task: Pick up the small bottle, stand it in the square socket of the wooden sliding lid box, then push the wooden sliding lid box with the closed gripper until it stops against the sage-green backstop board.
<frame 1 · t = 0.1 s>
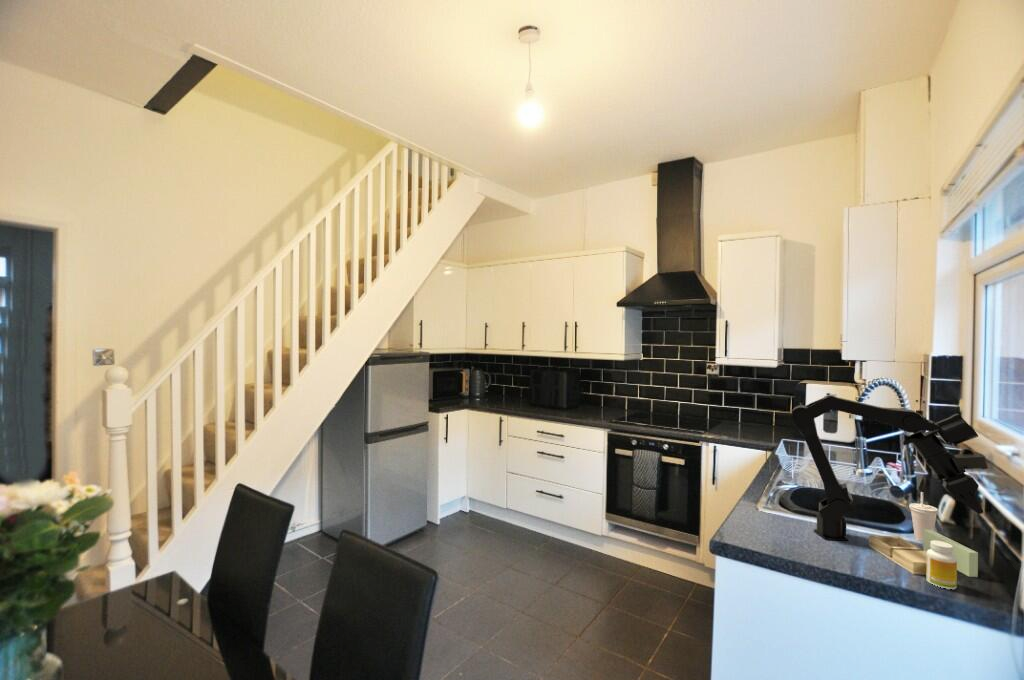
hand: (976, 507, 122), 15 cm above the worktop, tool tilted 30°, fingers open, 9 cm apart
wooden sliding lid box: (905, 554, 124), point 1 cm above the worktop, slide at 0.0 cm
backstop board: (949, 563, 122), on the worktop
smoothie: (923, 540, 137), on the worktop
supplement bottle: (941, 585, 112), on the worktop
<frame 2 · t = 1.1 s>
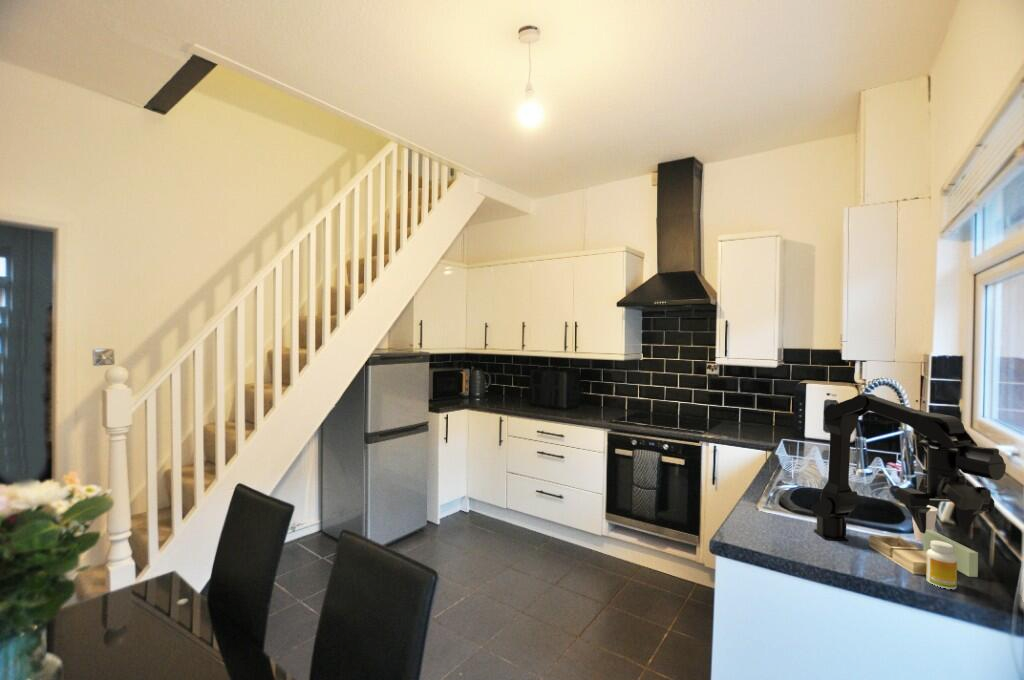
hand: (942, 533, 112), 12 cm above the worktop, tool pointing down, fingers open, 9 cm apart
nothing on the worktop moved.
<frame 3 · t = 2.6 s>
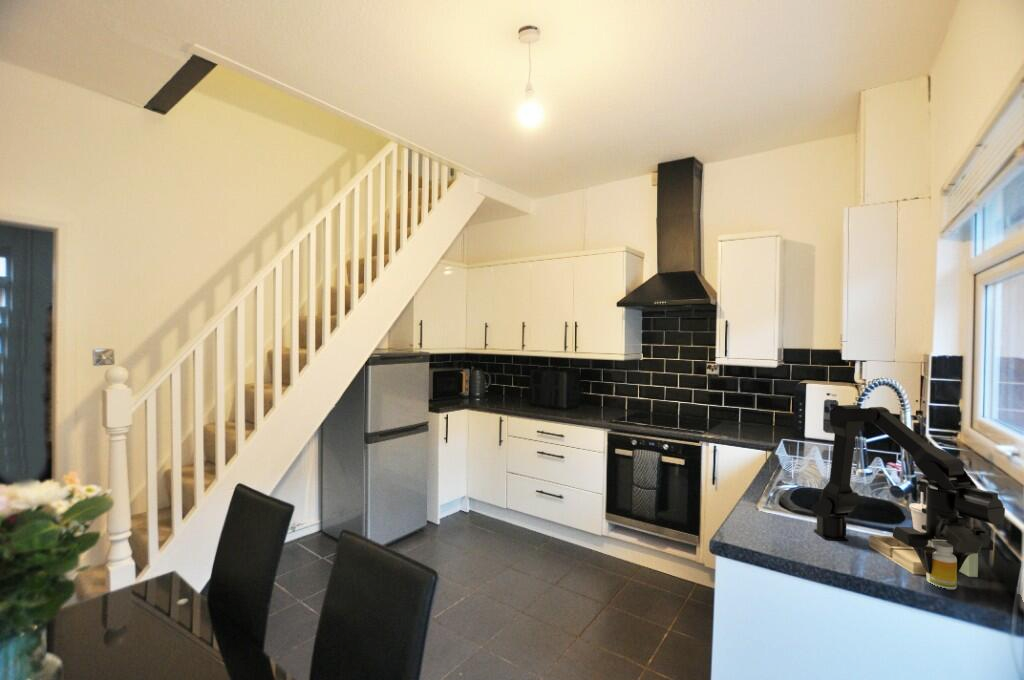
hand: (941, 573, 112), 3 cm above the worktop, tool pointing down, fingers closed on supplement bottle, 5 cm apart
supplement bottle: (941, 585, 112), on the worktop, touching gripper
everything else where it was.
when the fingers open (4 cm above the worktop, at t = 6.5 s): supplement bottle stays where it is, resting on wooden sliding lid box.
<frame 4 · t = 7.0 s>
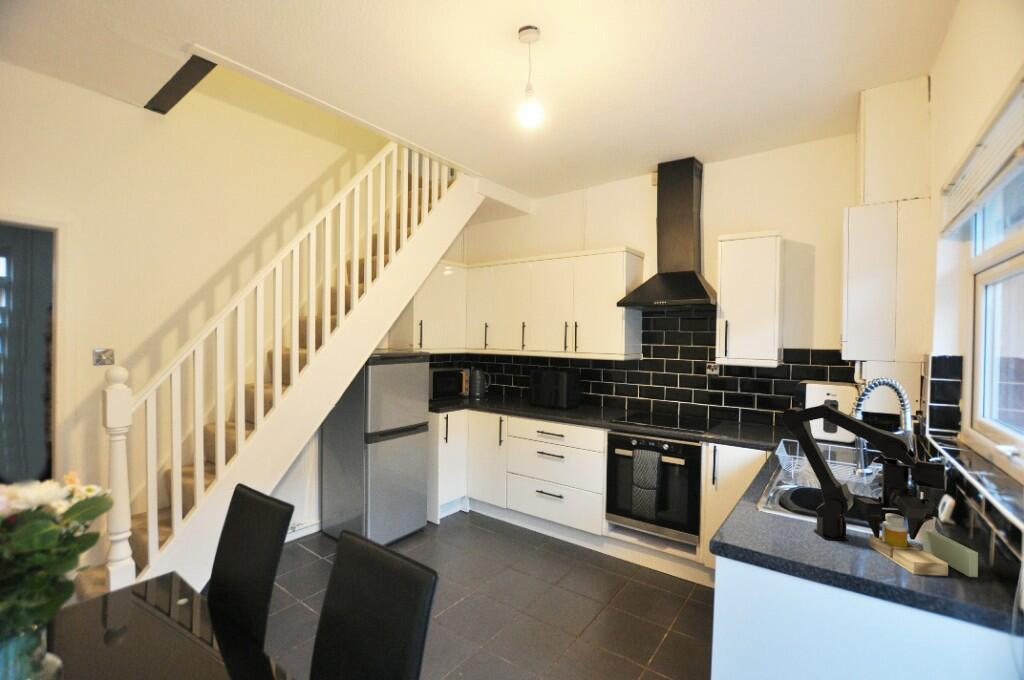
hand: (894, 538, 128), 4 cm above the worktop, tool pointing down, fingers open, 9 cm apart
wooden sliding lid box: (906, 554, 124), point 1 cm above the worktop, slide at 0.1 cm, touching supplement bottle
supplement bottle: (894, 551, 128), resting on wooden sliding lid box
everything else where it was.
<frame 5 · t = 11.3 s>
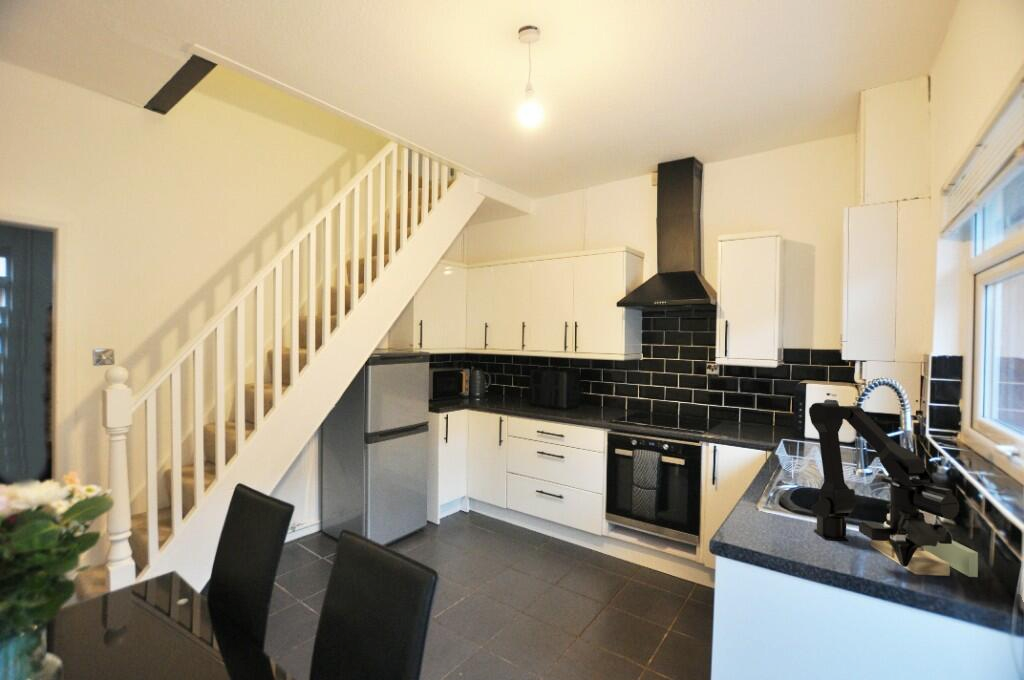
hand: (903, 566, 118), 1 cm above the worktop, tool pointing down, fingers closed
wooden sliding lid box: (907, 554, 124), point 1 cm above the worktop, slide at 0.5 cm, touching supplement bottle, gripper
everything else where it was.
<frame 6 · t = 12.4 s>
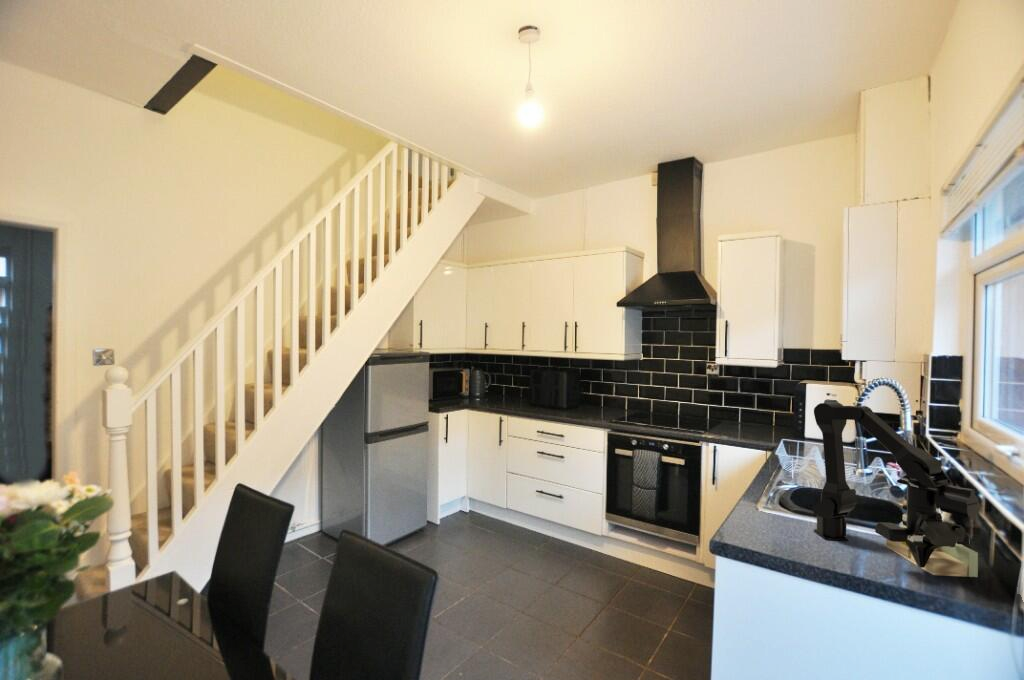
hand: (920, 566, 118), 1 cm above the worktop, tool pointing down, fingers closed
wooden sliding lid box: (924, 555, 124), point 1 cm above the worktop, slide at 4.6 cm, touching supplement bottle, gripper
supplement bottle: (911, 552, 128), resting on wooden sliding lid box
everything else where it was.
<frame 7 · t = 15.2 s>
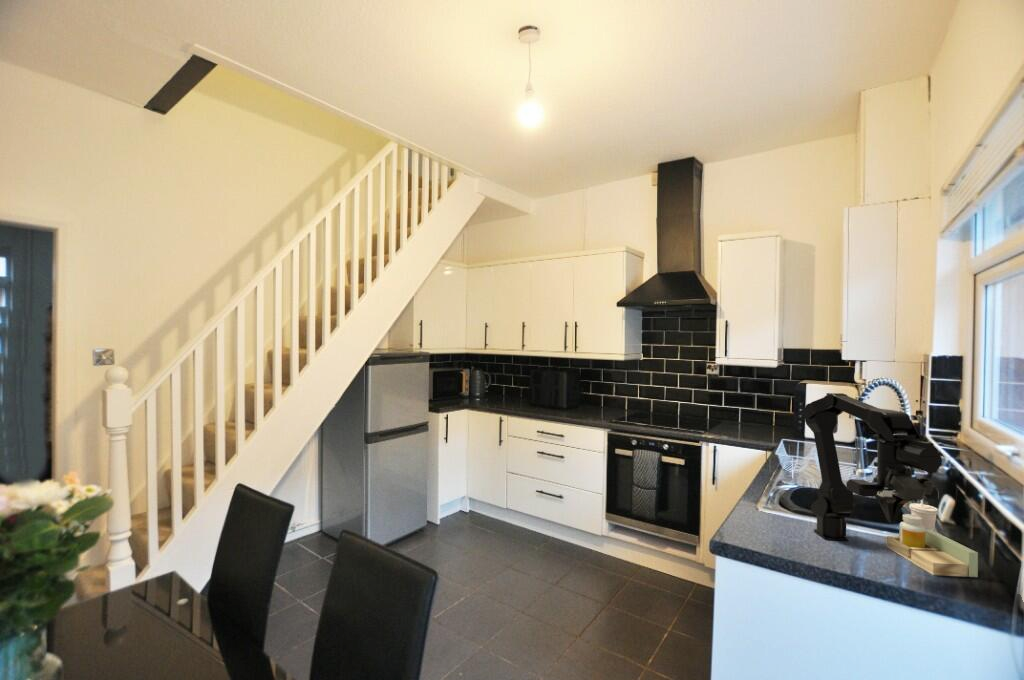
hand: (891, 522, 119), 12 cm above the worktop, tool pointing down, fingers closed
wooden sliding lid box: (924, 555, 124), point 1 cm above the worktop, slide at 4.7 cm, touching supplement bottle
everything else where it was.
at the end: wooden sliding lid box slide at 4.7 cm; supplement bottle 0.1 cm from the target spot on the wooden sliding lid box, point 0.3 cm above the wooden sliding lid box's base; supplement bottle tilted 0° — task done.
